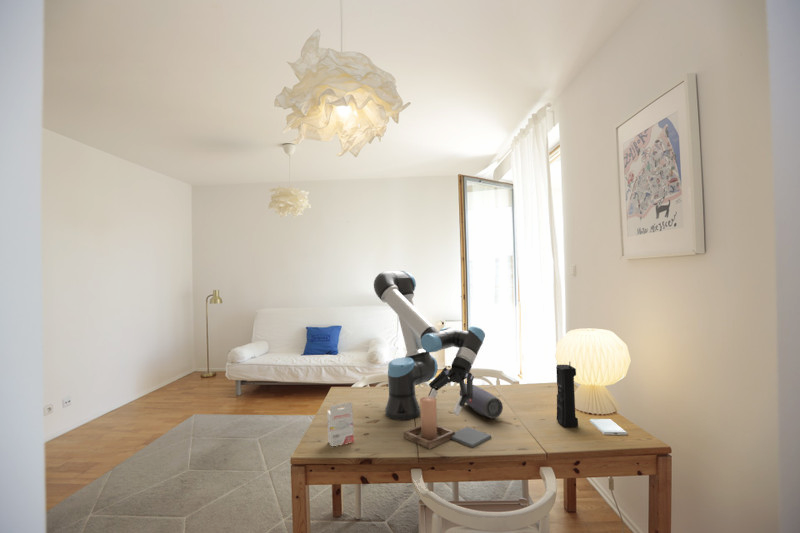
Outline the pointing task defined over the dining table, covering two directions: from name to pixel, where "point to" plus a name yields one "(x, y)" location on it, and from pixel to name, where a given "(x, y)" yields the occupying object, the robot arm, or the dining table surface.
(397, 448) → the dining table surface
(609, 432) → the hard drive
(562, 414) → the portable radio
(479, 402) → the bluetooth speaker
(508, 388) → the dining table surface
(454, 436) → the charcoal mat
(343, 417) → the ink cartridge box
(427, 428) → the salmon orange cylinder
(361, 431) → the dining table surface
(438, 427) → the walnut collar
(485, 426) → the dining table surface
